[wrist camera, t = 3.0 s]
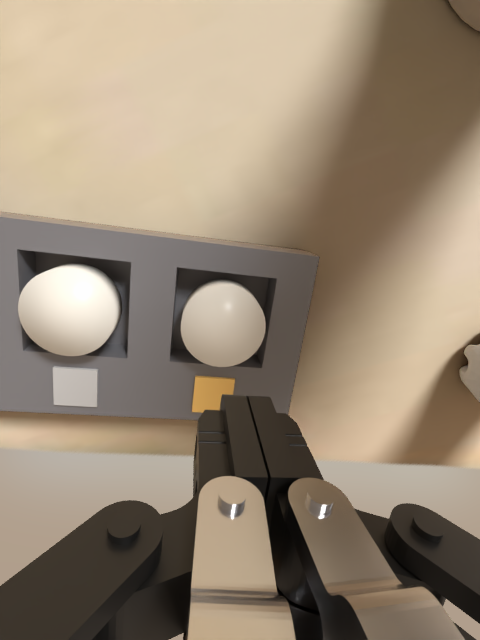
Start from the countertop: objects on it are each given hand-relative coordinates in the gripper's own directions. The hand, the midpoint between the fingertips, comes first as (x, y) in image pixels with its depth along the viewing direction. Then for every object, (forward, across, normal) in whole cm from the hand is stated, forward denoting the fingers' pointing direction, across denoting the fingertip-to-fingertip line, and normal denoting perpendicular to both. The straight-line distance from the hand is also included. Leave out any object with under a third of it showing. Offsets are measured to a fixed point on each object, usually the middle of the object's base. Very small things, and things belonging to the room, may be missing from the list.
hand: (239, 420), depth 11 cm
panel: (+13, +8, +1) cm, 15 cm away
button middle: (+10, +8, 0) cm, 13 cm away
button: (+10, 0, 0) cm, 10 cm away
